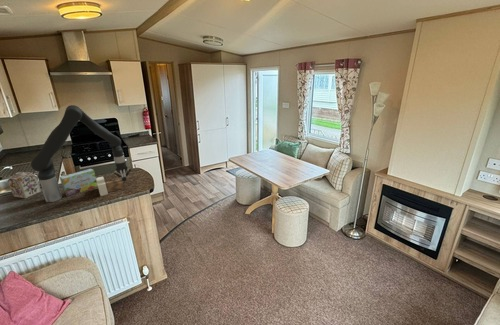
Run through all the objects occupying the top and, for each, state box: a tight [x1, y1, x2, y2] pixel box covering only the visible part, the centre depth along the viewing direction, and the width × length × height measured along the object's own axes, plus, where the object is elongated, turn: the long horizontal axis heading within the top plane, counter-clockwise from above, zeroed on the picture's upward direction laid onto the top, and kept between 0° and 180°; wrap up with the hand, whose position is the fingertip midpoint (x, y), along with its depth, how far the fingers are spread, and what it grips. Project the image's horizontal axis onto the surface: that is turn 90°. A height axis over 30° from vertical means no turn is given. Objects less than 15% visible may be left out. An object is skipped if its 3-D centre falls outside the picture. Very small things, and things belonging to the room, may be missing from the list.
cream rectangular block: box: [96, 176, 109, 197], centre depth 182 cm, size 5×16×9 cm, turn 35°
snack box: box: [59, 168, 98, 197], centre depth 182 cm, size 21×6×15 cm, turn 143°
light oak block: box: [105, 178, 125, 193], centre depth 188 cm, size 12×8×6 cm, turn 125°
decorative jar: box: [7, 171, 42, 199], centre depth 176 cm, size 12×12×18 cm
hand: (124, 180), depth 192 cm, fingers closed
